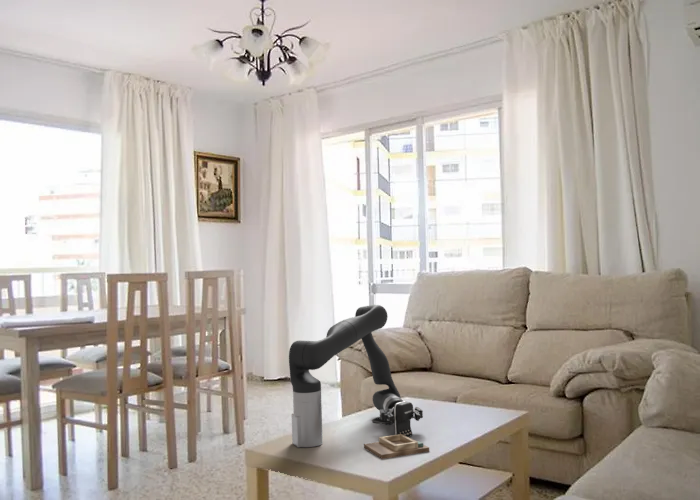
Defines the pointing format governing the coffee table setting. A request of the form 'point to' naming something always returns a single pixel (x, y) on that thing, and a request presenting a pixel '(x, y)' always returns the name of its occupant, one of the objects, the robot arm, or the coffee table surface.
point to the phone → (382, 421)
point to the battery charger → (403, 418)
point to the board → (395, 446)
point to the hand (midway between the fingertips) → (405, 418)
